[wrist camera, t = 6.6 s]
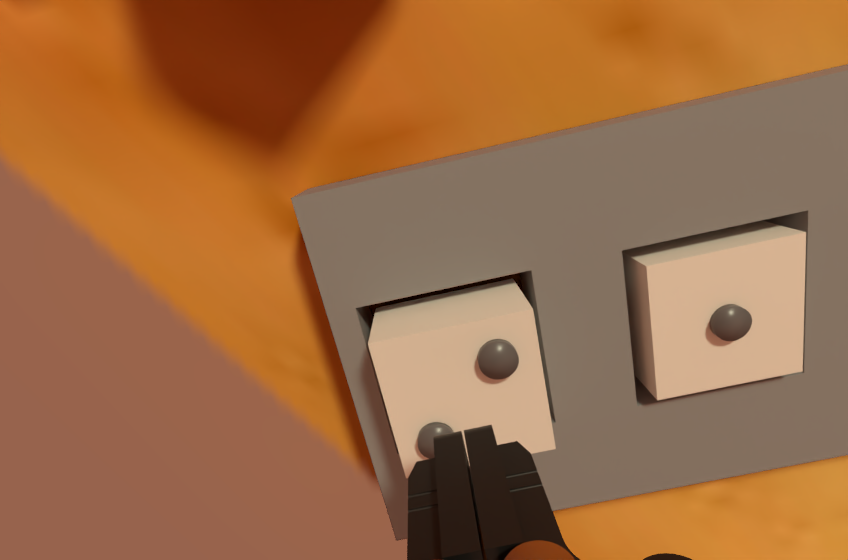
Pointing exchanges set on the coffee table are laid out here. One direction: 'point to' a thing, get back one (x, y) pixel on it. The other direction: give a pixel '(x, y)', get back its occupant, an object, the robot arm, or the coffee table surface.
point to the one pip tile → (716, 308)
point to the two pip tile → (461, 369)
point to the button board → (609, 278)
